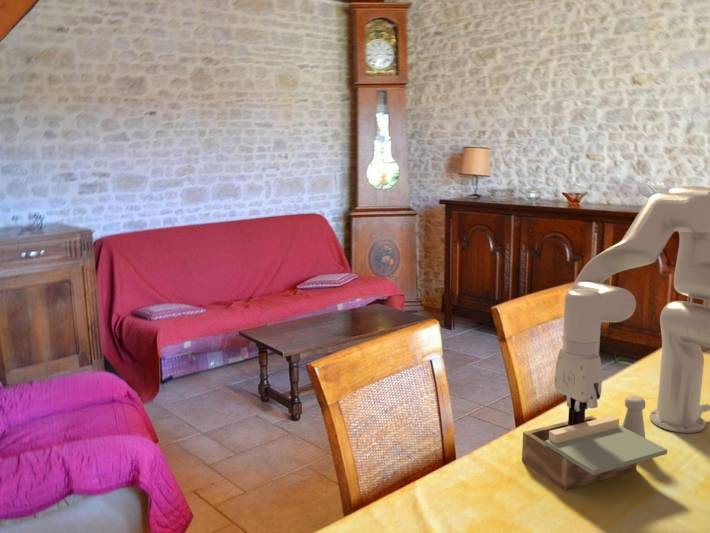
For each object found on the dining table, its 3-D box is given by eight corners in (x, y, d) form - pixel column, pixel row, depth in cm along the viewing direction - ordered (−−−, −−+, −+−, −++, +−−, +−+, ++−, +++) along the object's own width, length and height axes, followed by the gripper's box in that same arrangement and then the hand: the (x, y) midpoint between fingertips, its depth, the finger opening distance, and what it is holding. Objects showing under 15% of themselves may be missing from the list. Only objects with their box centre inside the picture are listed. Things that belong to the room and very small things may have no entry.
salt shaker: (647, 457, 146) (651, 404, 143) (620, 455, 147) (624, 402, 145) (642, 445, 152) (646, 393, 149) (616, 443, 153) (619, 392, 150)
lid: (614, 427, 145) (615, 414, 145) (666, 454, 133) (668, 440, 132) (544, 444, 137) (545, 431, 137) (593, 475, 125) (593, 461, 124)
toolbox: (589, 443, 153) (591, 415, 152) (636, 469, 141) (638, 440, 139) (521, 460, 145) (523, 432, 144) (565, 490, 133) (566, 459, 131)
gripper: (543, 339, 144) (540, 415, 148) (592, 359, 131) (587, 442, 134) (570, 334, 147) (566, 409, 150) (620, 354, 133) (614, 435, 137)
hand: (576, 424), depth 142 cm, fingers closed
